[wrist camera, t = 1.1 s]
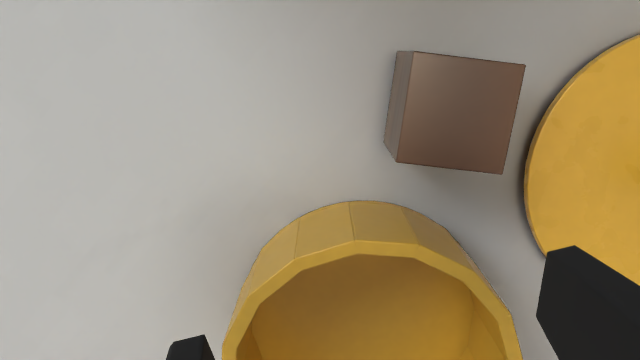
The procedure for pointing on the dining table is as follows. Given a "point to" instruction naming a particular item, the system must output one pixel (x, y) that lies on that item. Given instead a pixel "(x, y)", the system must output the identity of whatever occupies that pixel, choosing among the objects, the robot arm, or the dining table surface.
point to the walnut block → (452, 111)
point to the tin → (367, 293)
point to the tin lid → (591, 163)
